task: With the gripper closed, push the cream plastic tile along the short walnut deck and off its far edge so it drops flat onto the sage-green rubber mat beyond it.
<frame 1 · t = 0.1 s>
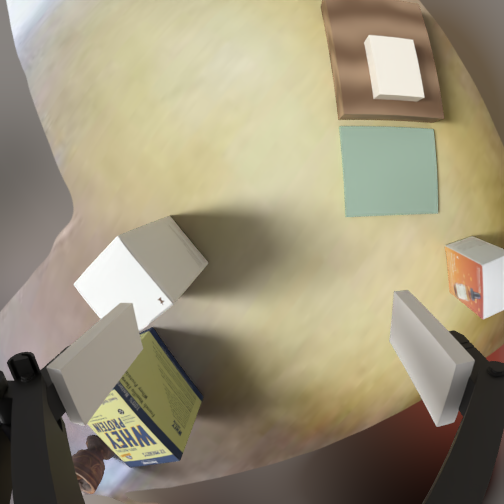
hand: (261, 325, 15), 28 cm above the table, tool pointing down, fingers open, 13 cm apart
deck: (378, 60, 35), on the table
mortar and pestle: (95, 442, 57), on the table
supplement box: (167, 256, 44), on the table
small box: (460, 264, 41), on the table
protein box: (156, 371, 50), on the table
tile: (391, 71, 32), point 4 cm above the table, touching deck
mat: (392, 170, 39), on the table
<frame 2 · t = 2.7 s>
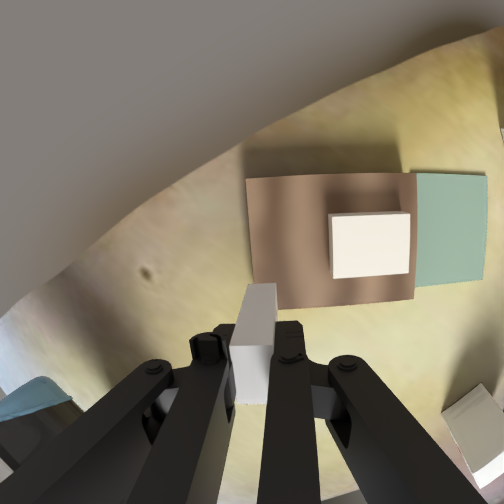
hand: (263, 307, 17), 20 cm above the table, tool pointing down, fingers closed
deck: (332, 235, 35), on the table
supplement box: (465, 409, 40), on the table
tile: (366, 241, 31), point 4 cm above the table, touching deck
mat: (451, 229, 34), on the table
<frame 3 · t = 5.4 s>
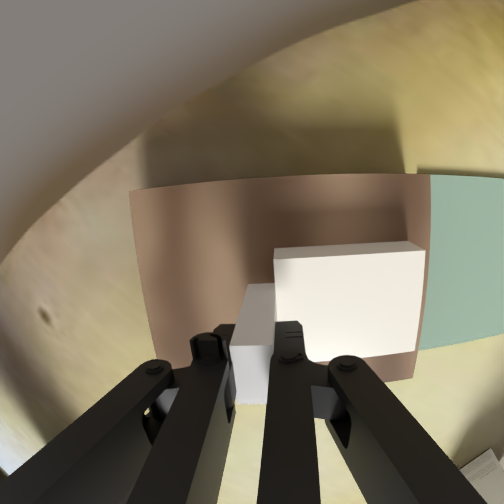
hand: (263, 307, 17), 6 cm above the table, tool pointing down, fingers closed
deck: (285, 276, 22), on the table
supplement box: (467, 474, 27), on the table
tile: (344, 293, 18), point 4 cm above the table, touching gripper
mat: (477, 263, 21), on the table
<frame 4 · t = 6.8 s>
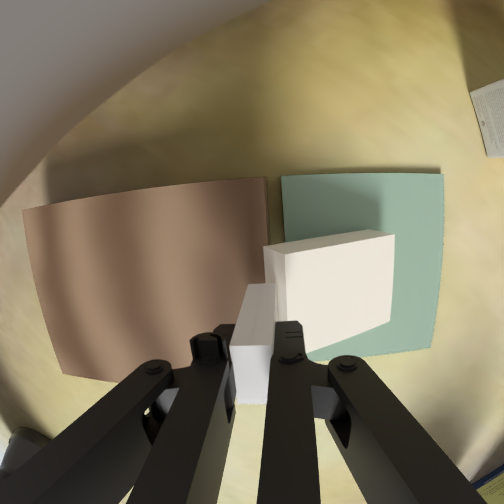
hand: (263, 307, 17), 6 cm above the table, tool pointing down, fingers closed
deck: (154, 281, 23), on the table
protein box: (501, 475, 28), on the table
tile: (322, 282, 20), point 2 cm above the table, tilted 28°, touching gripper
mat: (368, 271, 22), on the table
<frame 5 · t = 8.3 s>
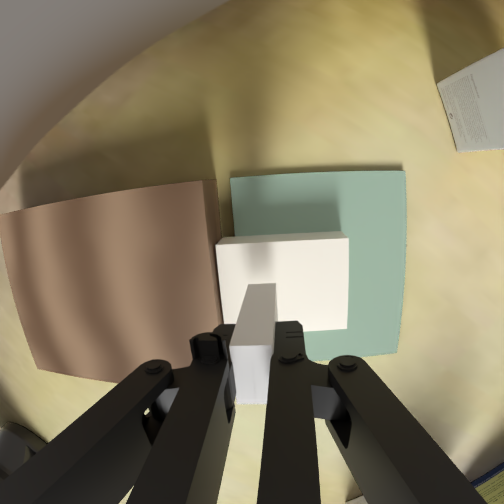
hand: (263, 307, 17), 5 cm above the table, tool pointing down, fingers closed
deck: (116, 282, 24), on the table
supplement box: (387, 497, 28), on the table
small box: (480, 112, 18), on the table
protein box: (489, 481, 28), on the table
tile: (284, 276, 22), resting on mat
mat: (324, 273, 22), on the table
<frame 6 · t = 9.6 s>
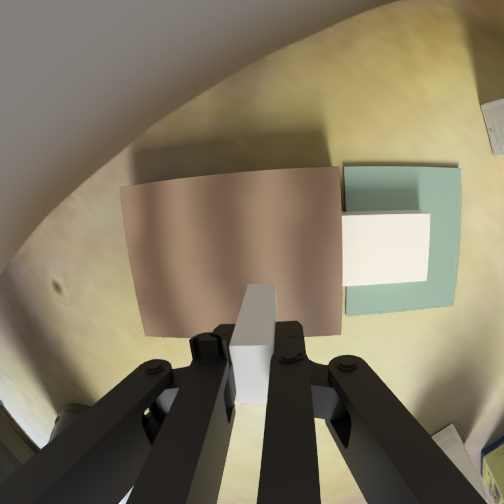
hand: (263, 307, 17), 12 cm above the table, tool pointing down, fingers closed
deck: (237, 249, 29), on the table
supplement box: (433, 449, 34), on the table
tile: (379, 243, 27), resting on mat
mat: (406, 241, 27), on the table
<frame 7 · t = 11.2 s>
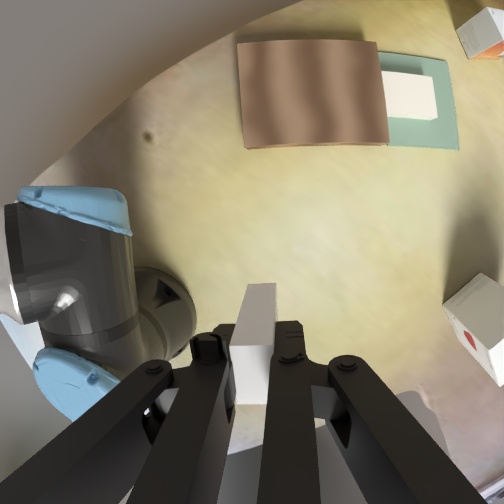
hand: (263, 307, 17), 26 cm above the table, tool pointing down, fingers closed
deck: (311, 95, 38), on the table
supplement box: (468, 306, 43), on the table
small box: (477, 45, 32), on the table
tile: (403, 97, 36), resting on mat
mat: (419, 100, 36), on the table
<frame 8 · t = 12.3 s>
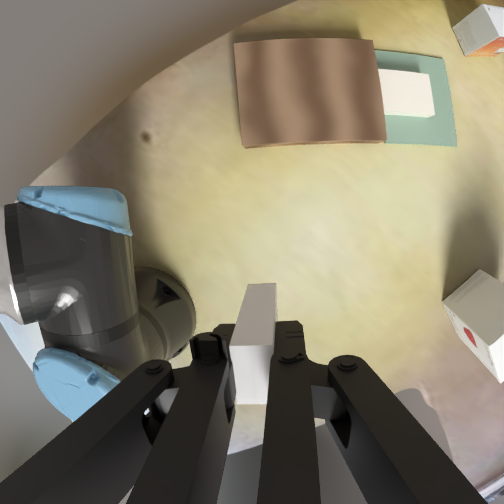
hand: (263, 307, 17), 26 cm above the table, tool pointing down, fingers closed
deck: (308, 94, 38), on the table
supplement box: (468, 303, 43), on the table
small box: (473, 42, 32), on the table
tile: (400, 95, 36), resting on mat
mat: (417, 97, 36), on the table
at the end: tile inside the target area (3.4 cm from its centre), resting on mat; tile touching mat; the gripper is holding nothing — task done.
